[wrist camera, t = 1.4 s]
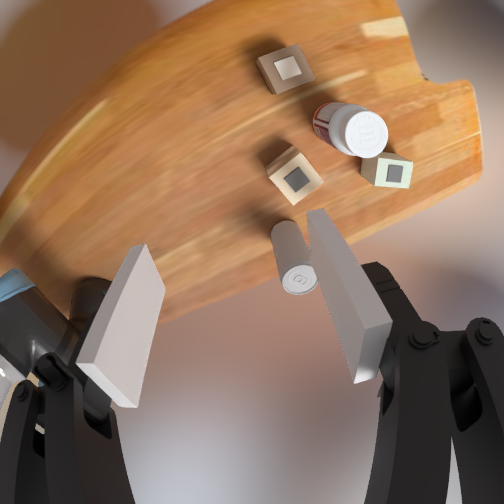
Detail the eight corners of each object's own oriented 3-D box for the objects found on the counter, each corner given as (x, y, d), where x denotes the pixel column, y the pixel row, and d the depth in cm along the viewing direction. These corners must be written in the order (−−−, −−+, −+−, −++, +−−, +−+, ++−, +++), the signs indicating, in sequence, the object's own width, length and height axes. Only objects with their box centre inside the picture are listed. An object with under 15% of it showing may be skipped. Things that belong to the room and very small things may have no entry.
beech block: (286, 192, 39) (293, 206, 35) (265, 167, 37) (269, 177, 33) (313, 171, 38) (324, 182, 33) (292, 144, 36) (301, 152, 31)
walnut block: (271, 94, 32) (277, 94, 27) (255, 62, 29) (258, 57, 25) (305, 81, 31) (316, 79, 26) (289, 49, 28) (298, 43, 24)
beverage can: (282, 213, 41) (298, 257, 31) (306, 228, 43) (328, 274, 32) (264, 237, 43) (273, 286, 33) (288, 250, 45) (303, 300, 34)
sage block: (360, 174, 38) (375, 186, 34) (363, 149, 36) (379, 158, 32) (392, 177, 38) (409, 188, 34) (396, 153, 36) (414, 162, 32)
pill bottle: (349, 146, 36) (386, 168, 26) (308, 139, 35) (336, 158, 26) (355, 106, 32) (397, 114, 23) (314, 97, 32) (345, 100, 22)
